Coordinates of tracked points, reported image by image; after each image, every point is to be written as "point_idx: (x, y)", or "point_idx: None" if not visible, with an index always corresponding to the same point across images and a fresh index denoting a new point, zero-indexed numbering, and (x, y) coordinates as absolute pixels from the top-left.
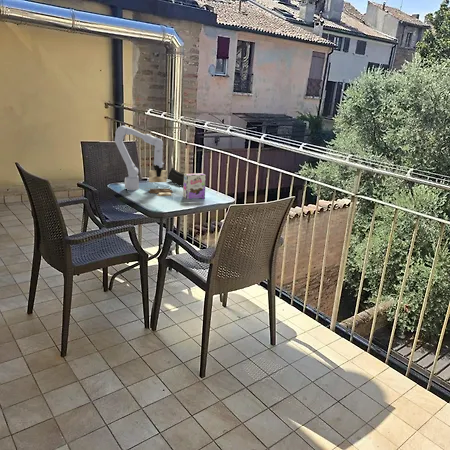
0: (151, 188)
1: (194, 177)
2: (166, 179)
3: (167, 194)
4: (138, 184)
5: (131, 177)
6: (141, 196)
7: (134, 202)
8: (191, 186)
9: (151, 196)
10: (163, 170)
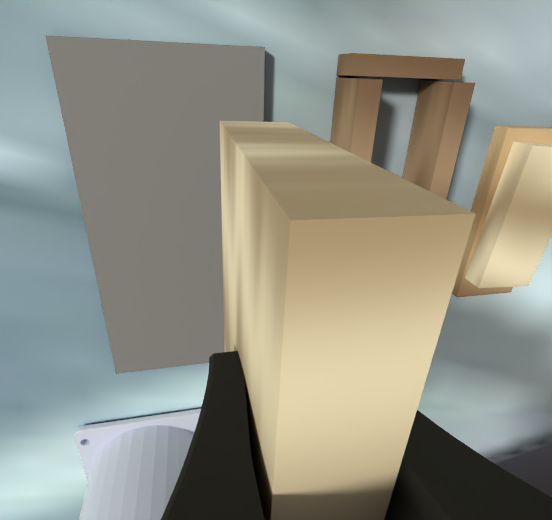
0: (132, 299)
1: None
2: (305, 133)
3: None
4: (174, 480)
5: None
6: (422, 402)
7: (542, 440)
8: None
9: (455, 333)
10: (343, 374)
